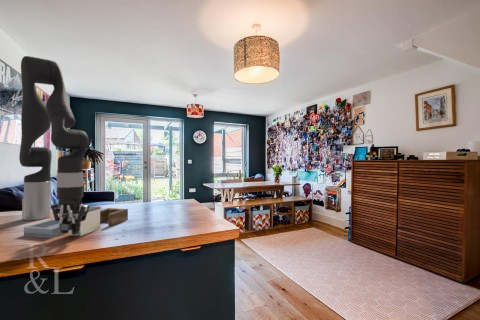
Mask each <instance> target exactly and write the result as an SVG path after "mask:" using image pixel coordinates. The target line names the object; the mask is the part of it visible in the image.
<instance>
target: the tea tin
mask: <svg viewBox="0 0 480 320" xmlns="http://www.w3.org/2000/svg"><path fill="white" fill-rule="evenodd" d="M100 210H102V209H101V206H90V205H89V210H88V213H87V216H86V219H85V220H84V221H81V222H80V231H79V232H78V233H77V234H72V224H73V223H72V219H71V218H70V217H69V221H67V222H64V223H61V224H59V230H69V232H68V236H71V237H72V236H73V237H83V236H85V235H87V234H90V233H92V232H93V233H94V232H95V231H97V230H100V229H101V223H100ZM74 214H76V213H74ZM75 218H76V217H75ZM76 219H77V218H76Z"/></svg>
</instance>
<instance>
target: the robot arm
mask: <svg viewBox="0 0 480 320" xmlns="http://www.w3.org/2000/svg"><path fill="white" fill-rule="evenodd" d="M62 72H63V71H62V70H61V67H60V65H59V64H58V63H57V62H56V61H54V60H49V59H44V58H40V57H35V56H30V55H29V56H28V55H25V56H23V57H22V58H21V61H20V75H21V89H22V98H21V111H20V112H21V115H20V116H21V117H20V119H21V120H20V123H21V128H20V129H21V139H20V147H19V156H18V157H19V164H20V165H21V166H22V167H25V168H41V169H40V170H38V171H36V172H34V173H30V174H26V175H24V176H23V198H22V199H21V206H22V207H21V208H22V210H21V218H22V220H24V221H38V220H44V219H47V218H50V217H51V212H52V215H53V219H55V221H59V222H60V223H64V222H67V221H68V219H69V217H70V218H71V219H72V223H73V224H72V234H77V233H78V232H79V231H80V222H81V221H84V220H85V219H86V216H87V213H88V210H89V206H90V205H89V204H87V205H85V204H83V201H82V198H83V197H84V173H83V171H84V169H83V168H84V166H83V162H84V159H85V156H86V152H87V149H88V146H89V142H90V141H89V140H90V139H89V136H88V134H87V132H86V131H84V130H81V129H74V128H73V129H72V127H74V126H75V124H76V119H75V116H74V113H73V111H72V108H71V106H70V103H69V101H68V100H69V99H68V96H67V91H66V90H67V89H66V87H65V85H66V84H65V82H64V81H65V80H64V76H63V73H62ZM36 84H41V85H49V86H53V90H52V92H51V94H50V96H49V97H48V98H47V100H46V103H45V102H44V101H43V99H42V98H41V97H40V95H39V94H38V92H37V90H36V87H35V86H36ZM50 128H51V130H50V131H51V133H50V141H51V144H52V145H53V146H54V147H56V148H57V149H62V150H63V149H65V150H66V149H67V150H69V149H70V150H71V152H70V154H67V155H62V156H59V157H58V158H57V177H56V199H57V200H58V203H55V204H51V202H52V201H51V196H52V194H51V189H52V188H51V183H52V182H51V181H52V179H51V176H52V175H51V171H52V170H51V169H52V150H51V149H50V148H49V147H42V146H41V147H39V146H38V147H37V146H33V145H34V143H35V142H36V141H37V140H38V139H39V138H41V137H42V136H43V135H44V134H45V133H47V132H48V131H49V129H50ZM74 213H76V214H74ZM64 217H65V218H64ZM75 217H76V218H77V219H76V218H75ZM68 231H69V230H61V233H64V234H67V233H69V232H68ZM66 232H67V233H66Z"/></svg>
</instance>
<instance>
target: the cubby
mask: <svg viewBox="0 0 480 320" xmlns="http://www.w3.org/2000/svg"><path fill="white" fill-rule="evenodd" d="M128 216H129V208H119V207H117V208H116V207H108V208H105V209H100V224H103V223H105V222H108V225H107V226H108V227H114V226H116V225H118V224H120V223H123V222H125V221H128V218H129V217H128Z"/></svg>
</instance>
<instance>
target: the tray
mask: <svg viewBox="0 0 480 320" xmlns="http://www.w3.org/2000/svg"><path fill="white" fill-rule="evenodd" d="M64 218H65V217H64ZM68 221H69V219H68ZM59 224H61V223H60V222H59V221H55V218H53V219H49V220H46V221H42V222H38V223H36V224H31V225H28V226H24V227H23V236H25V237H36V238H37V237H38V238H50V239H53V238H55V237H58V236H61V235H65V234H67V233H69V231H68V232H66V233H61V230H59Z"/></svg>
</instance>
